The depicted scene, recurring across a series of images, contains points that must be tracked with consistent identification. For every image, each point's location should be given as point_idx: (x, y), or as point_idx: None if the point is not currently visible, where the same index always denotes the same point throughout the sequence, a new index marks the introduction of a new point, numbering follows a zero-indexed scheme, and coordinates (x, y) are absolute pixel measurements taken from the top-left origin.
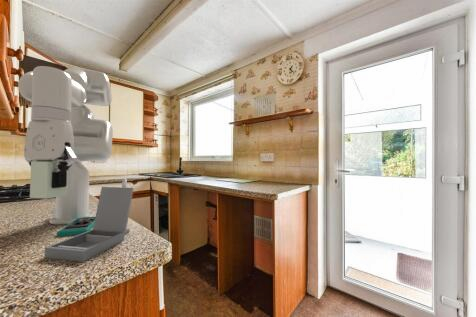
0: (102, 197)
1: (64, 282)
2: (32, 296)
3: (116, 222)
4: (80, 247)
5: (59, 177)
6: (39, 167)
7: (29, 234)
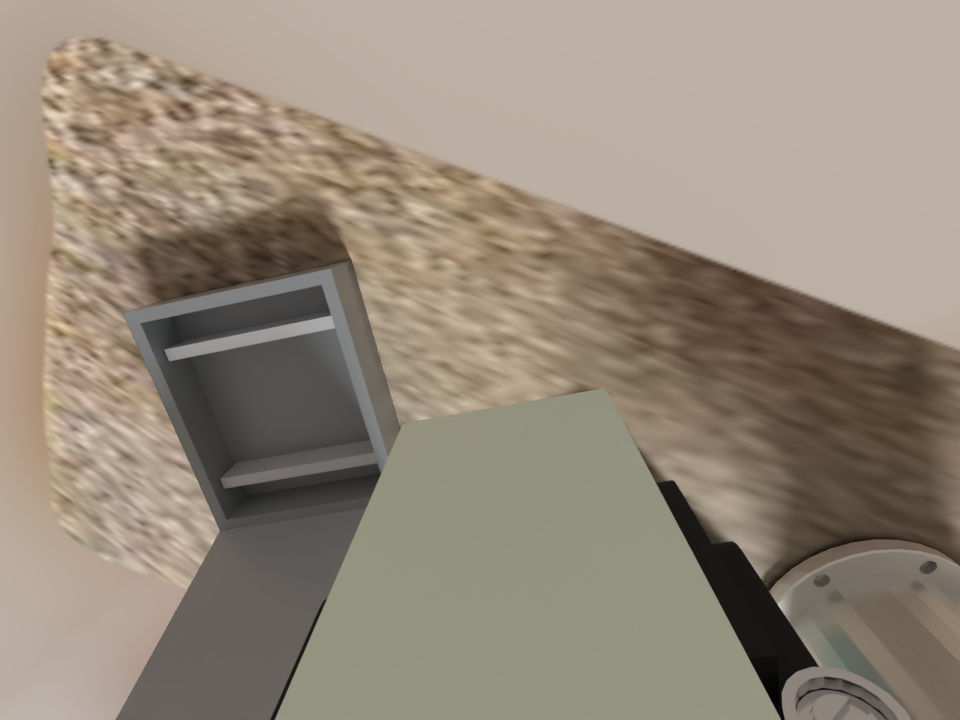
0: None
1: (81, 195)
2: (66, 97)
3: (254, 560)
4: (224, 348)
5: (295, 669)
6: None
7: (823, 406)
